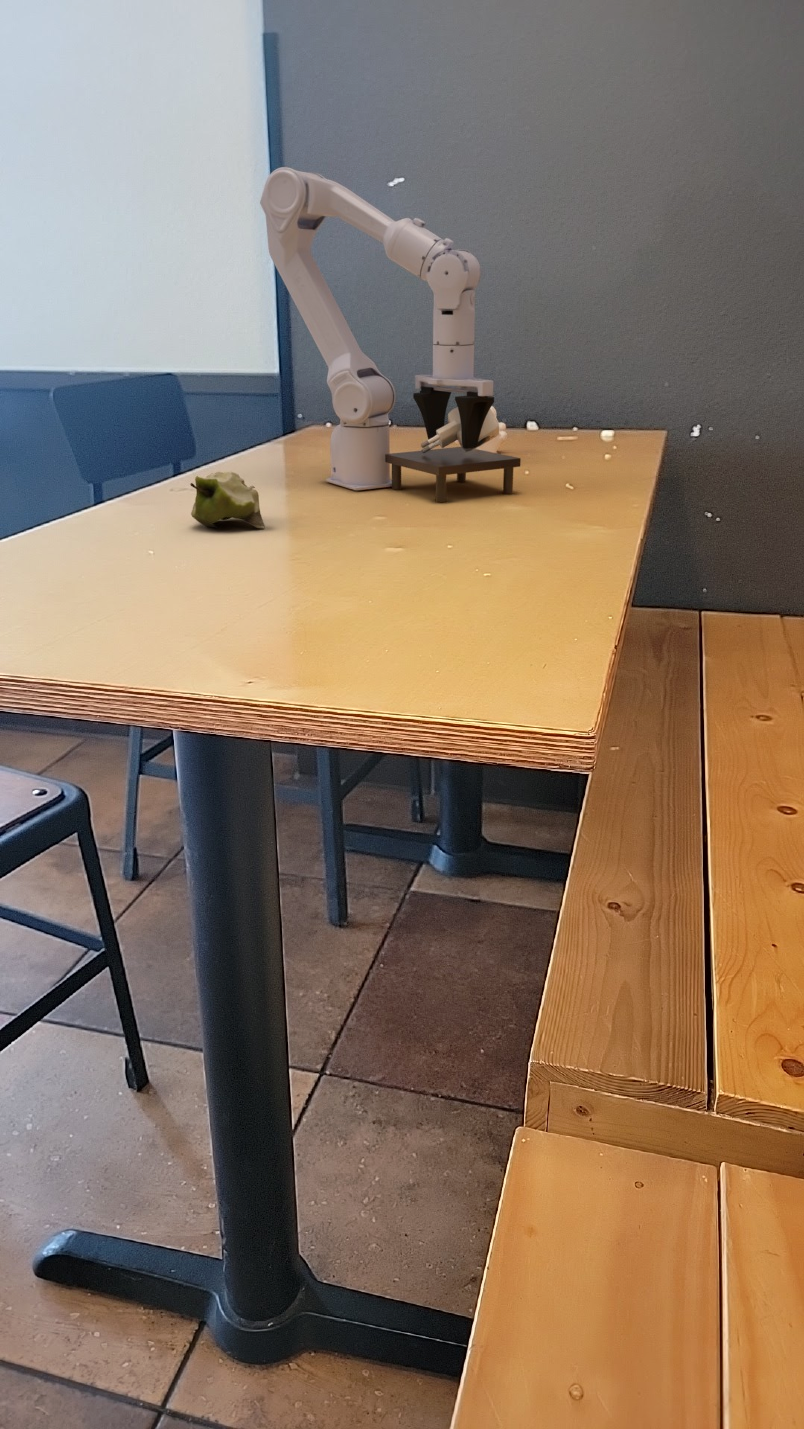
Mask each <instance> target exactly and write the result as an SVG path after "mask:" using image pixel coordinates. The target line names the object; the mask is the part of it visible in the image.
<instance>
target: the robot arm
mask: <svg viewBox="0 0 804 1429" xmlns="http://www.w3.org/2000/svg"><path fill="white" fill-rule="evenodd" d="M259 204H260V206H261V208H262V210H263V213H264V215H265V224H266V233H267V234H266V235H267V236H266V238H267V247H268V248H267V249H268V253H269V257H270V258H271V260H272V263H273V264H274V266H275V268H276V270H277V272H278V274H279V275H280V277H281V280H282V281H283V284H284V285H285V287H286V289H287V291H288V293H289V295H290V297H291V299H292V300H293V302H294V303H293V304H295V307H296V308H297V310H298V312H299V315H300V316H301V318H302V320H303V322H304V323H305V326H306V327H307V329H308V331H309V333H310V336H311V337H312V340H313V341H314V343H315V345H316V346H317V349H318V351H319V353H320V354H321V356H322V358H323V360H324V362H325V364H326V367H327V368H328V370H327V376H326V384H327V386H328V388H329V389H330V393H331V402H332V408H333V410H334V413H335V414H336V416H337V417H338V418H339V419H340V420H339V424H338V425H336V426H335V427H334V429H333V431H332V433H331V435H330V438H329V439H330V440H329V449H330V450H329V451H330V477H327V478H326V479H325V482H327V483H330V484H333V485H336V486H340V487H343V488H345V489H350V490H353V491H363V490H364V491H365V490H372V489H382V488H383V489H384V488H390V487H391V488H392V478H391V466H390V465H391V464H390V463H386V462H385V454H391V452H390V451H391V450H390V448H391V447H390V445H391V444H390V443H391V441H390V440H391V439H390V418H389V413H390V412H391V411H392V410H393V409H394V406H395V404H396V398H397V397H396V388H395V386H394V385H393V383H392V382H391V380H390V379H389V378H388V377H387V376H385V375H383V373H381V372H380V370H379V368H378V367H377V365H376V363H375V362H374V361H373V360H372V359H371V358H369V356H367V355H366V354H365V353H364V352H363V351H362V350H361V347H360V345H359V344H358V341H357V340H356V338H355V336H354V334H353V332H352V331H351V328H350V326H349V324H348V322H347V320H346V318H345V316H344V315H343V313H342V310H341V309H340V307H339V305H338V303H337V301H336V299H335V297H334V295H333V293H332V291H331V289H330V287H329V285H328V283H327V281H326V280H325V278H324V276H323V274H322V272H321V270H320V268H319V266H318V264H317V262H316V260H315V258H314V257H313V254H312V252H311V248H312V244H313V241H314V238H315V235H316V233H317V232H318V231H319V229H320V227H321V226H322V224H323V222H324V221H325V219H326V218H327V217H329V218H338V219H340V220H342V221H344V222H345V223H347V224H348V225H351V226H352V227H354V228H356V229H357V230H359V231H361V232H363V233H365V234H367V235H368V236H370V237H371V238H373V239H375V240H377V241H379V242H380V243H382V244H383V248H384V252H385V254H386V257H387V259H389V260H391V261H392V262H394V263H395V264H397V265H399V266H400V267H402V268H403V269H405V270H406V271H408V272H410V273H411V274H412V275H414V276H416V277H417V278H419V279H420V280H422V281H424V282H427V285H428V286H429V288H430V289H431V291H432V292H433V310H432V344H433V345H432V374H428V373H427V374H425V373H424V374H415V376H414V382H415V384H414V385H415V388H414V389H415V390H419V392H414V393H413V394H412V397H413V398H412V399H413V400H414V402H415V403H416V405H417V407H418V409H419V412H420V415H421V417H422V420H423V424H424V427H425V432H426V436H427V440H429V439H431V438H433V437H434V436H436V430H437V429H439V428H441V427H443V426H445V421H446V412H447V409H448V408H447V407H448V403H449V400H450V398H451V395H452V393H456V394H465V395H457V396H454V401H455V403H456V407H458V410H459V415H460V420H461V436H462V445H463V448H464V449H469V448H477V444H478V440H479V436H480V433H481V429H482V426H483V423H484V420H485V418H486V416H487V414H488V412H489V410H490V408H491V406H493V405H494V403H495V397H494V380H490V379H483V378H480V377H475V375H474V372H475V371H474V370H475V368H474V367H475V334H476V333H475V332H476V331H475V330H476V328H475V327H476V326H475V325H476V323H475V322H476V308H475V307H476V305H475V304H476V303H475V301H476V288H477V287H478V285H479V283H480V281H481V277H482V269H481V265H480V263H479V261H478V259H477V257H476V256H474V255H473V254H472V253H471V251H470V250H469V249H464V248H458V249H454V244H455V242H454V240H452V239H450V238H449V237H446V238H444V239H443V238H441V237H440V236H438V235H437V234H435V233H433V232H432V231H430V230H428V229H427V228H425V226H426V221H424V220H422V219H420V218H418V217H415V218H413V219H411V218H409V217H405V218H402V219H399V220H394V219H392V218H391V217H390V216H388V215H387V214H385V213H383V212H382V211H381V210H380V209H379V208H377V207H375V206H374V205H372V204H371V203H369V202H368V201H366V200H364V198H362V197H360V196H359V195H358V194H356V193H354V192H353V191H352V190H350V189H349V188H347V187H346V186H344V185H342V184H340V183H338V182H337V181H334V180H332V179H328V178H326V177H324V176H323V175H322V174H320V173H317V172H313V171H312V172H306V171H300V170H296V169H293V168H291V167H288V166H287V167H286V166H281V167H278V168H276V169H275V170H273V171H272V172H271V173H270V174H269V176H268V177H267V179H266V180H265V183H264V186H263V190H262V194H261V196H260V200H259ZM433 443H434V442H433Z"/></svg>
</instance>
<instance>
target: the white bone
mask: <svg viewBox="0 0 804 1429" xmlns="http://www.w3.org/2000/svg"><path fill="white" fill-rule="evenodd" d="M490 409H491V411H492V413H493V414H494V416H495V418H496V420H497V422H498V424H499V433H498V435H497V436H496V437H495V438H493V439H492V440H490V441H488V442H486V443H484V444H483V445H481V446H479V447H477V448H475V449H478V450H483V451H488V452H493V453H498V452H497V451H498V449H499V448H500V446H503V445H504V444H506V442H507V441H508V440H507V439H508V433H507V432H506V430H507V425H506V423H505V422H503V421H502V422H499V420H498V419H497V415H498V413H497V410H496V408H495V407H494V406H493V405H492V406H491V408H490ZM454 443H455V444H456V446H457V447H461V445H460V444H459V442H458V440H456V441H454Z"/></svg>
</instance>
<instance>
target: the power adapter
mask: <svg viewBox="0 0 804 1429" xmlns="http://www.w3.org/2000/svg"><path fill="white" fill-rule="evenodd" d="M496 418H497V417H496ZM496 418H495V416H494V414H493V413H492V411H491V409H490V410H489V412H488V414H487V416H486V418H485V420H484V423H483V426H482V429H481V433H480V436H479V440H478V444H477V447H479V446H481V445H483V444H484V443H486V442H488V441H490V440H492V439H493V438H495V437H496V436H497V435H498V433H499V424H498V422H499V421H498V422H497V420H498V419H497V420H496ZM447 422H448V423H446V424H444V426H443V427H441V428H439V429H437V430H436V436H434V437H433V438H431V439H429V440H428V439H427V440H424V441H423V442H421V443H420V447H421V448H422V449H421V450H420V451H422V453H426V452H428V451H429V450H433V449H435V448H436V447H439V446H440V447H441V449H443V448H446V447H447V446H449V445H451V444H453V443H455V441H456V440H458V442H459V444H460V445H461V446H460V447H462V448H463V445H462V436H461V420H460V415H459V410H458V407H457V406H456V407H454V408H453V409H451V410H450V411H449V412H448V413H447ZM433 442H434V443H433ZM473 449H475V448H469V449H464V448H463V450H465V451H466V452H468V451H471V450H473Z"/></svg>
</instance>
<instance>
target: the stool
mask: <svg viewBox="0 0 804 1429" xmlns="http://www.w3.org/2000/svg"><path fill="white" fill-rule="evenodd" d="M385 462H386V463H390V465H391V480H392V486H391V490H394V491H400V490H402V468H406V469H410V470H414V471H418V472H422V473H426V474H431V475H435V502H436V503H446V502H447V476H449V475H450V476H451V475H456V482H457V483H465V482H466V481H467V473H477V472H485V471H493V470H494V471H495V470H503V477H502V478H503V480H502V494H504V495H510V494H513V492H514V468H520V467H521V462H522V460H521V457H517V456H512V455H507V454H502V453H498V452H497V453H493V452H488V451H483V450H478V449H473V450H471V451H468V452H466V451H465V450H463V448H462V447H461V446H455V447H454V446H453V447H444V448H433V449H431V450H429V451H428V452H426V453H422V451H421V450H413V451H404V452H394V453H393V452H392V453H390V454H385Z"/></svg>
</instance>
